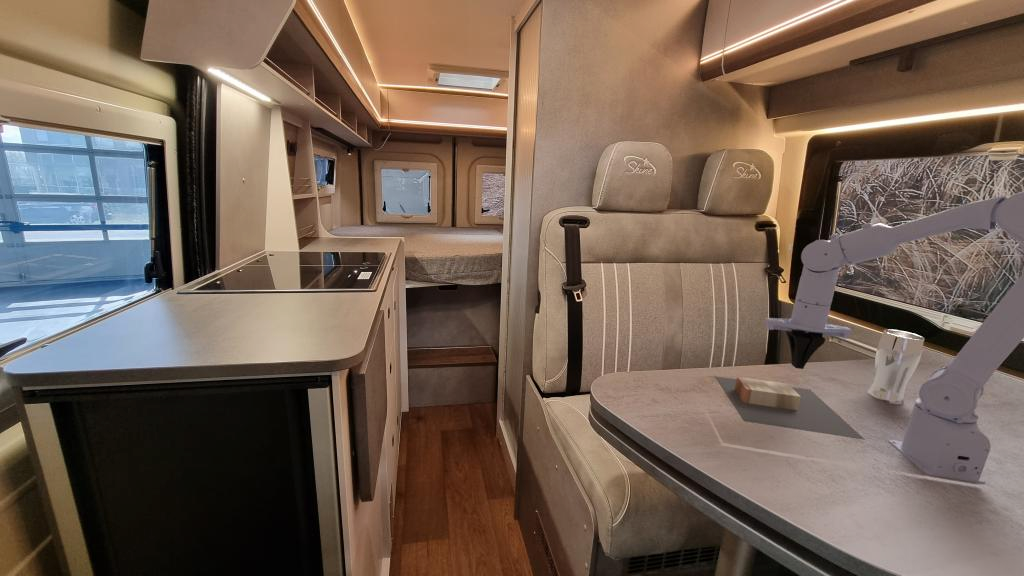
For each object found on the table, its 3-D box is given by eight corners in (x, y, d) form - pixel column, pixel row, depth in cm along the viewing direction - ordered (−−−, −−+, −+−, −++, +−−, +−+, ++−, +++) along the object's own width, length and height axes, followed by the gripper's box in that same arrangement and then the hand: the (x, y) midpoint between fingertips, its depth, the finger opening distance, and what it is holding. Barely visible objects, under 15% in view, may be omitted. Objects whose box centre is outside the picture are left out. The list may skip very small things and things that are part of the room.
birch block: (800, 396, 83) (746, 389, 85) (797, 410, 84) (743, 402, 85) (787, 383, 89) (736, 376, 90) (784, 396, 89) (734, 389, 91)
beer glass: (889, 392, 96) (907, 330, 93) (914, 407, 89) (935, 341, 86) (857, 389, 97) (874, 327, 93) (879, 404, 90) (899, 338, 86)
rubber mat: (864, 441, 75) (864, 439, 74) (743, 422, 78) (744, 420, 78) (809, 391, 94) (810, 389, 94) (714, 378, 97) (715, 376, 97)
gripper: (842, 301, 84) (826, 364, 87) (764, 293, 87) (751, 354, 90) (864, 310, 77) (845, 378, 80) (778, 301, 80) (764, 367, 83)
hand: (797, 366), depth 85 cm, fingers closed
